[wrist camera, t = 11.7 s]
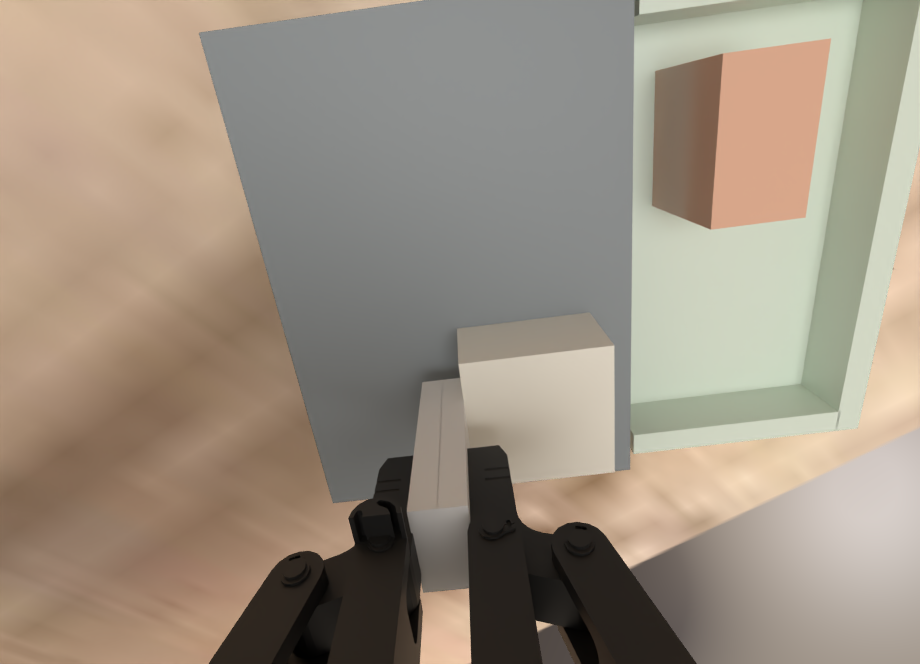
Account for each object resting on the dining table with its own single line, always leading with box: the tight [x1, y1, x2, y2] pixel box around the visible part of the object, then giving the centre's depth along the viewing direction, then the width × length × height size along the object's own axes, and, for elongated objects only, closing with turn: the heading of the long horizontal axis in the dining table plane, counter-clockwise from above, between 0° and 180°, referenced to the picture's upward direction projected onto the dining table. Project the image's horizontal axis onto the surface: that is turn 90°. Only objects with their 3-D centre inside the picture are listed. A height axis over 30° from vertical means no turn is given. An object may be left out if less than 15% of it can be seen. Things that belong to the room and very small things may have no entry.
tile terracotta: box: [652, 38, 831, 230], centre depth 17 cm, size 5×5×3 cm
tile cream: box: [457, 312, 615, 484], centre depth 18 cm, size 5×5×3 cm
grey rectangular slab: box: [199, 0, 634, 503], centre depth 20 cm, size 13×18×4 cm
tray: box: [630, 0, 920, 454], centre depth 20 cm, size 10×18×3 cm, turn 7°
